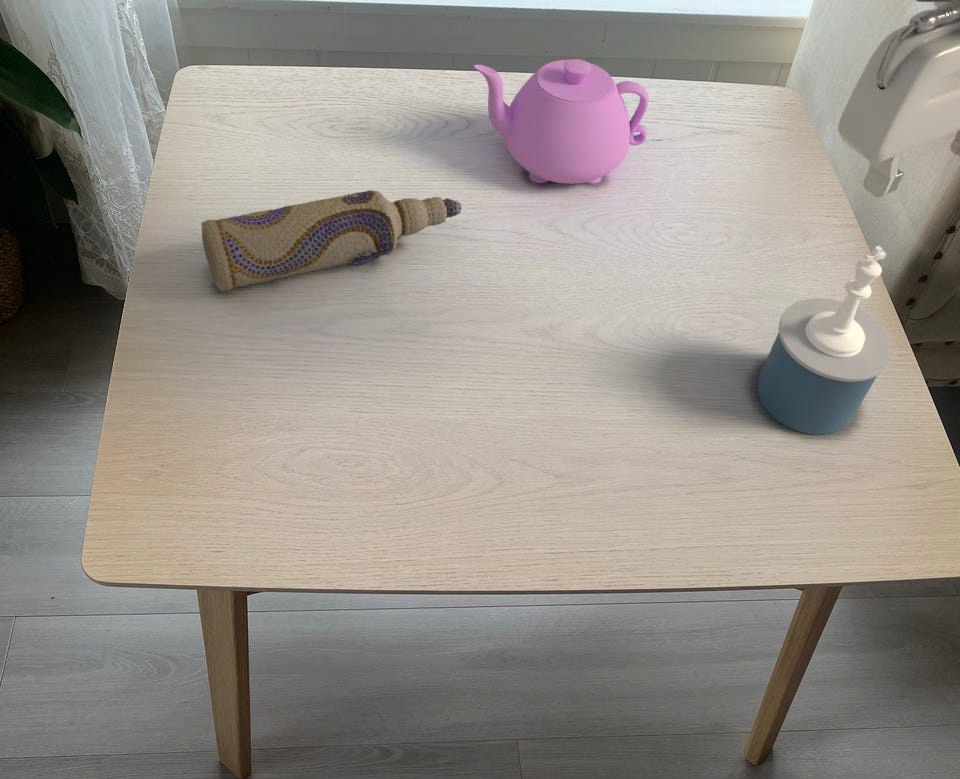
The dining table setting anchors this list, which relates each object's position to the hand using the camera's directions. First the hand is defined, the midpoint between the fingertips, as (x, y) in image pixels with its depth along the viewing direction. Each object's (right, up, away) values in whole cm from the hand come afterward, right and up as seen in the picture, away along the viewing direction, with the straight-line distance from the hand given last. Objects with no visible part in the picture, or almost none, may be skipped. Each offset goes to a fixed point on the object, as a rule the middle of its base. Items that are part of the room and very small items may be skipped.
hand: (921, 171), depth 68 cm
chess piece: (-1, -11, +13) cm, 18 cm away
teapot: (-23, +10, +40) cm, 48 cm away
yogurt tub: (-2, -16, +19) cm, 25 cm away
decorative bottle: (-46, -3, +27) cm, 54 cm away
